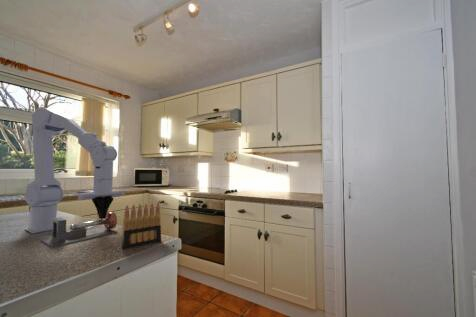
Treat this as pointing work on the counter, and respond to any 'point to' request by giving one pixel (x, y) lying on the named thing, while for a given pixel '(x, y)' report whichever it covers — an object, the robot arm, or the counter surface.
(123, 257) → the counter surface
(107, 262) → the counter surface
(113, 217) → the hammer
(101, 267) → the counter surface
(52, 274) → the counter surface
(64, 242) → the eye bracket
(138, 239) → the ammunition clip
